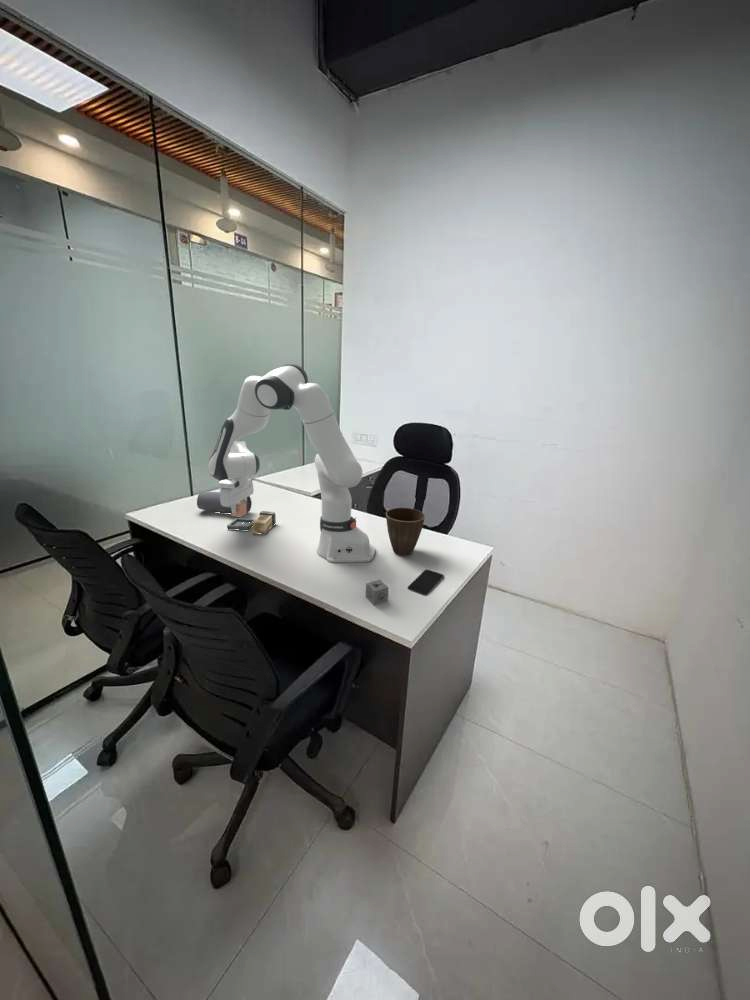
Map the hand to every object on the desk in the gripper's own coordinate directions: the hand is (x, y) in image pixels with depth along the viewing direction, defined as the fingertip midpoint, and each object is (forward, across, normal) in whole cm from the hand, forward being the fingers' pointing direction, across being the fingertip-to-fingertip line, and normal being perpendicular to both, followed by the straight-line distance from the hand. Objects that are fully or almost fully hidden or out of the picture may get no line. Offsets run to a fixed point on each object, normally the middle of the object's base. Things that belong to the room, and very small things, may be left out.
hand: (239, 510), depth 156 cm
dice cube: (+8, +37, +68) cm, 77 cm away
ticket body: (+8, -2, +10) cm, 13 cm away
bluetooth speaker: (+8, -13, -15) cm, 22 cm away
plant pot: (+7, +3, +71) cm, 72 cm away
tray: (+8, -1, 0) cm, 8 cm away
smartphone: (+8, +23, +82) cm, 86 cm away
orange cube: (+2, 0, 0) cm, 2 cm away
